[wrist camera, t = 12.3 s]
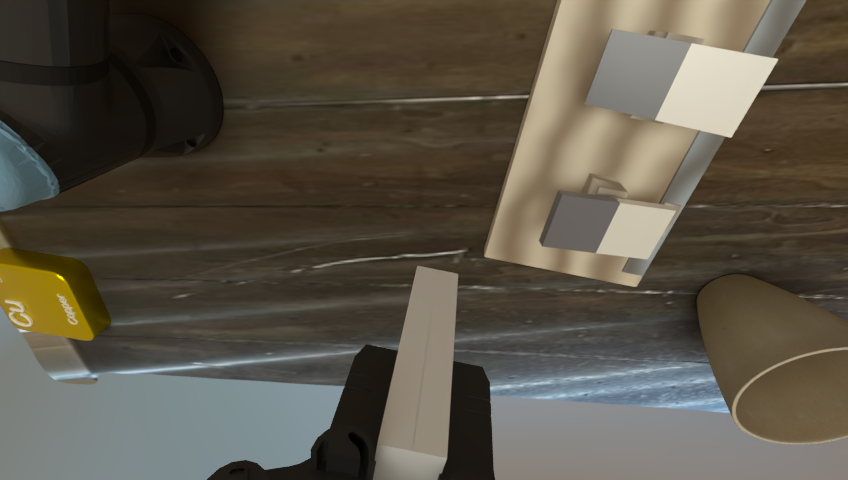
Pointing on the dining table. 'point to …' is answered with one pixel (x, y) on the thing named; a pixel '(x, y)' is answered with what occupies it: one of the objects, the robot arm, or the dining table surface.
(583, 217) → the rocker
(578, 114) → the switch console
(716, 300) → the plant pot
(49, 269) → the element tile
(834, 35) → the dining table surface
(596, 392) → the dining table surface
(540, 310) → the dining table surface
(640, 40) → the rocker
